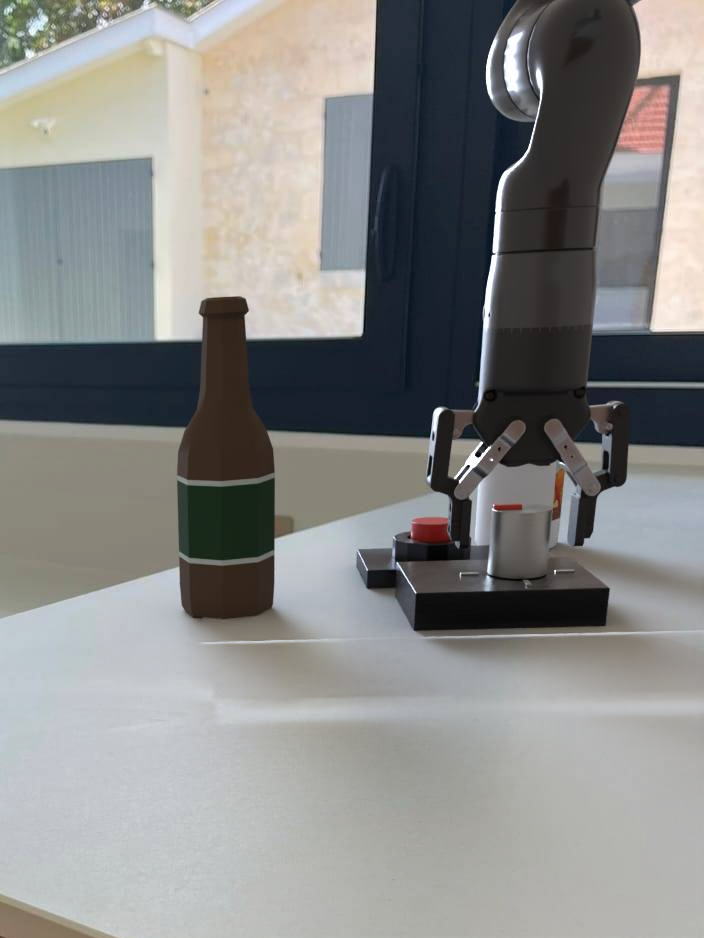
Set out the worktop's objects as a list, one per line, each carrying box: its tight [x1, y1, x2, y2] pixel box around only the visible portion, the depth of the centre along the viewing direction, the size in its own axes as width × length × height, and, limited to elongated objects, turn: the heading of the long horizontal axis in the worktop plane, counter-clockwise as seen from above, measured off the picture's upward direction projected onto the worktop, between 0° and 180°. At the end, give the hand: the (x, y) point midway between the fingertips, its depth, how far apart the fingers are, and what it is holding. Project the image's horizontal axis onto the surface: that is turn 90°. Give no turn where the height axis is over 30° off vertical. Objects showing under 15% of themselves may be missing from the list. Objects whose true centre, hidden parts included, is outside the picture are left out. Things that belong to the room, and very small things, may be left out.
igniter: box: [355, 530, 489, 590], centre depth 108 cm, size 12×9×4 cm
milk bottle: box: [474, 453, 566, 550], centre depth 115 cm, size 8×8×20 cm
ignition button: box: [410, 516, 451, 542], centre depth 107 cm, size 4×4×2 cm
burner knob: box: [487, 503, 553, 579], centre depth 94 cm, size 4×4×5 cm
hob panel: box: [394, 556, 611, 632], centre depth 96 cm, size 14×11×3 cm
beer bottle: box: [176, 295, 276, 620], centre depth 97 cm, size 8×8×24 cm
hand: (518, 545), depth 94 cm, fingers open, 8 cm apart
